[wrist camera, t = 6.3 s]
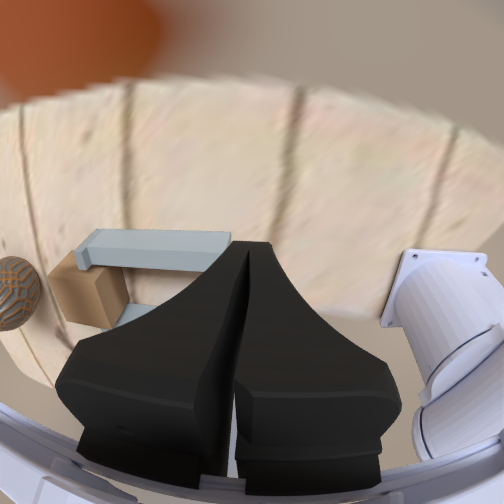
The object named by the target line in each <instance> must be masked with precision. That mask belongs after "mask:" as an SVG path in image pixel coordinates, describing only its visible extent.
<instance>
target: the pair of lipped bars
mask: <svg viewBox="0 0 504 504" xmlns="http://www.w3.org/2000/svg"><path fill="white" fill-rule="evenodd" d="M230 244H231V232H209V231H174V230H129V229H96V230H95V231H94V232H93V233H92V234H91V235H90V236H89V237H88V238H86V239H85V240H84V241H83V242H82V243H81V244H80V245H79V246H78V247H77V248H76V249H75V250H74V251H73V253H74V257H75V260H76V263H77V266H78V269H79V270H87V269H88V268H89V267H90V266H91V265H92V264H95V265H108V266H121V267H135V268H150V269H166V270H182V271H199V272H205V271H206V270H207V269H208V268H209V267H210V266H211V264H212V263H213V262H214V261H215V260H216V259H217V258H218V257H219V256H220V255H221V254H222V253H223V252H224V251H225V249H226V248H227V247H228V246H229V245H230ZM156 307H158V306H150V305H141V304H133V303H127V304H126V306H125V308H124V310H123V311H122V313H121V315H120V317H119V318H118V320H117V322H116V324H115V326H114V327H113V329H114V328H116V327H119V326H121V325H123V324H125V323H128V322H130V321H132V320H134V319H136V318H138V317H140V316H142V315H144V314H146V313H148V312H149V311H151V310H153V309H154V308H156ZM101 329H102V331H103V332H106V331H108V330H110V329H104V328H101Z"/></svg>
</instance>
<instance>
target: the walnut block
mask: <svg viewBox="0 0 504 504" xmlns="http://www.w3.org/2000/svg"><path fill="white" fill-rule="evenodd" d="M47 277H48V279H49V282H50V284H51V287H52V289H53V292H54V294H55V296H56V299H57V301H58V303H59V306H60V308H61V310H62V312H63V314H64V316H65V318H66V321H69V322H74V323H78V324H83V325H88V326H94V327H99V328H104V329H110V330H111V329H113V327H114V326H115V324H116V322H117V320H118V318H119V317H120V315H121V313H122V311H123V310H124V308H125V306H126V304H127V303H128V301H129V296H128V292H127V289H126V285H125V282H124V278H123V274H122V270H121V267H120V266H108V265H95V264H92V265H91V266H90V267H89V268H88V269H87V270H79V269H78V266H77V263H76V260H75V257H74V253H73V251H71V252H70V253H69V254H68V255H67V256H66V257H65V258H64V259H63V260H62V261H61V262H60V263H59V264H58V265H57V266H56V267H55V268H54V269H53V270H52V272H51V273H50V274H49V275H48V276H47Z"/></svg>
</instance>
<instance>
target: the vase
mask: <svg viewBox="0 0 504 504" xmlns="http://www.w3.org/2000/svg"><path fill="white" fill-rule="evenodd" d="M39 298H40V283H39V278H38V275H37V273H36V271H35V270H34V268H33V267H32V266H31V264H30V263H29V262H27V261H26V260H24V259H22V258H19V257H14V256H9V257H5V258H2V259H0V331H9V330H14V329H16V328H18V327H20V326H21V325H23V324H24V323H25V322H26V321H27V320H28V319H29V318H30V317H31V315H32V314H33V313H34V311H35V309H36V307H37V304H38V302H39Z"/></svg>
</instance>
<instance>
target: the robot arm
mask: <svg viewBox="0 0 504 504" xmlns="http://www.w3.org/2000/svg"><path fill="white" fill-rule="evenodd" d="M414 254H416V255H415V256H414V257H412V256H413V255H414ZM486 261H487V255H485V254H484V253H472V252H456V251H440V250H423V249H407V250H405V251H404V252H403V255H402V258H401V261H400V265H399V268H398V271H397V274H396V277H395V281H394V284H393V287H392V289H391V292H390V295H389V298H388V301H387V304H386V306H385V309H384V312H383V315H382V317H381V320H380V325H381V327H384V328H386V327H403V329H404V332H405V334H406V336H407V339H408V341H409V344H410V346H411V349H412V351H413V354H414V357H415V359H416V362H417V364H418V367H419V370H420V372H421V375H422V378H423V381H424V383H425V388H424V389H423V390H422V391H421V392H419V397H420V400H421V403H422V406H420V407H419V408H418V409H417V411H416V412H415V414H414V417H413V423H412V442H413V446H414V449H415V452H416V455H417V457H418V459H419V461H420V462H419V463H415V464H411V465H407V466H403V467H398V468H394V469H389V470H384V471H380V465H379V459H378V455H379V454H380V453H382V445H381V440H380V437H381V436H382V435H383V434H384V433H385V432H386V431H387V429H388V428H389V427H390V426H391V425H392V424H393V423H394V421H395V420H396V419H397V417H398V415H399V414H400V412H401V408H402V403H401V399H400V395H399V392H398V388H397V386H396V383H395V380H394V378H393V376H392V374H391V372H390V370H389V368H388V365H387V363H385V362H384V361H382V360H380V359H379V358H377V357H375V356H374V355H372V354H370V353H368V352H367V351H365V350H363V349H362V348H360V347H358V346H357V345H355V344H354V343H353V342H351V341H350V340H348V339H347V338H345V337H344V336H343V335H342V334H340V333H339V332H338V331H336V330H335V329H334V328H333V327H332V326H330V325H329V324H328V323H327V322H326V321H325V320H324V319H322V318H321V317H320V316H319V315H318V314H317V313H316V312H315V311H314V310H313V309H312V308H311V307H310V306H309V304H308V303H307V302H306V301H305V300H304V299H303V298H302V296H301V295H300V294H299V293H298V291H297V290H296V289H295V287H294V286H293V284H292V283H291V282H290V280H289V279H288V277H287V276H286V274H285V272H284V271H283V269H282V267H281V266H280V264H279V262H278V260H277V258H276V256H275V254H274V251H273V248H272V245H271V244H270V243H269V242H253V241H233V242H232V243H231V244H230V245H229V246H228V247H227V248H226V249H225V251H224V252H223V253H222V254H221V255H220V256H219V257H218V258H217V259H216V260H215V261H214V262H213V263H212V264H211V266H210V267H209V268H208V269H207V270H206V271H205V272H203V273H202V274H201V275H200V276H199V277H198V278H197V279H196V280H195V281H193V282H192V283H191V284H190V285H189V286H188V287H186V288H185V289H184V290H182V291H181V292H180V293H178V294H177V295H175V296H174V297H173V298H171V299H170V300H168V301H166V302H165V303H163V304H161V305H160V306H158V307H156V308H154V309H153V310H151V311H149V312H148V313H146V314H144V315H142V316H140V317H138V318H136V319H134V320H132V321H130V322H128V323H125V324H123V325H121V326H119V327H116V328H114V329H111V330H108V331H106V332H103V333H100V334H97V335H94V336H92V337H89V338H86V339H82V340H79V342H78V343H77V345H76V346H75V348H74V350H73V351H72V353H71V355H70V356H69V358H68V360H67V362H66V364H65V365H64V367H63V369H62V371H61V373H60V374H59V376H58V378H57V380H56V383H55V388H56V391H57V394H58V397H59V398H60V399H61V401H62V402H63V404H64V405H65V406H66V407H67V408H68V409H69V411H70V412H71V413H72V414H73V415H74V416H75V417H76V418H77V419H78V420H79V421H80V423H81V424H82V425H83V426H84V427H85V428H84V431H83V433H82V436H81V439H80V441H76V440H74V439H71V438H69V437H67V436H65V435H62V434H60V433H57V432H55V431H53V430H51V429H49V428H47V427H45V426H43V425H41V424H39V423H37V422H35V421H33V420H31V419H29V418H27V417H25V416H24V415H22V414H20V413H18V412H17V411H14V410H13V409H11V408H10V407H8V406H6V405H4V404H3V403H1V402H0V490H2V491H3V492H4V493H5V494H6V495H7V496H8V497H9V498H11V499H12V500H13V501H14V502H15V503H16V504H142V503H138V502H137V501H138V499H137V498H136V497H134V496H132V495H130V494H128V493H126V492H123V491H122V490H120V489H118V488H116V487H114V486H113V485H112V484H110V483H109V482H108V481H106V480H104V479H102V478H100V477H97V476H95V475H93V474H91V473H89V472H87V471H85V470H83V469H86V470H88V471H91V472H93V473H96V474H98V475H102V476H104V477H107V478H109V479H113V480H115V481H118V482H121V483H124V484H128V485H131V486H134V487H138V488H141V489H145V490H149V491H153V492H157V493H161V494H166V495H170V496H174V497H179V498H184V499H190V500H196V501H202V502H210V503H217V504H339V503H347V502H354V501H360V500H364V501H360V502H355V503H351V504H504V288H503V287H502V286H501V284H500V283H499V282H498V281H497V280H496V279H495V277H494V276H493V275H492V274H491V273H490V271H489V270H488V269H487V268H486V267H485V264H486ZM389 322H390V323H389ZM234 393H235V407H236V419H237V440H236V449H235V460H236V462H237V470H238V478H229V477H227V471H228V458H229V445H230V433H231V421H232V410H233V400H234ZM82 468H83V469H82ZM366 499H368V500H366Z"/></svg>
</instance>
